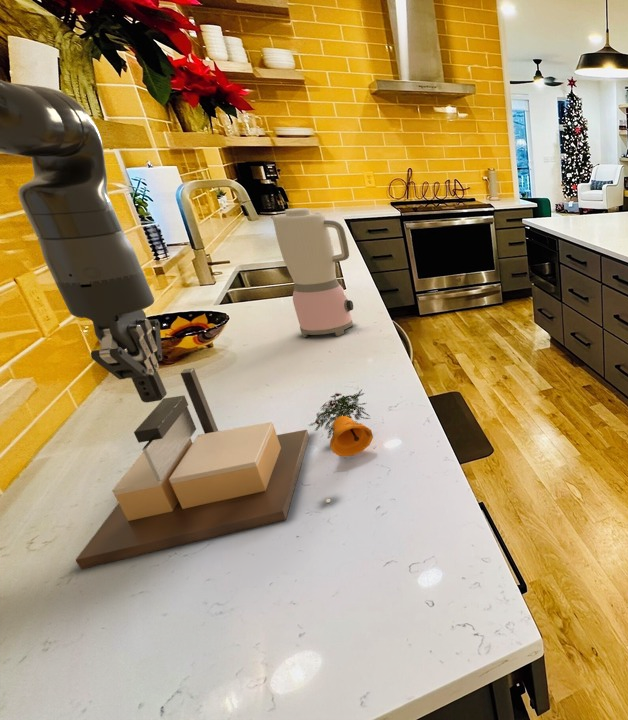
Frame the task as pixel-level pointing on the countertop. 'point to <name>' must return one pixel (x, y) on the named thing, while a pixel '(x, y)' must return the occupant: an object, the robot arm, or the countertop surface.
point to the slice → (147, 489)
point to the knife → (165, 433)
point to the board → (202, 520)
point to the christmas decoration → (345, 426)
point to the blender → (314, 270)
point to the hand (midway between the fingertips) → (155, 399)
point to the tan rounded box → (226, 465)
